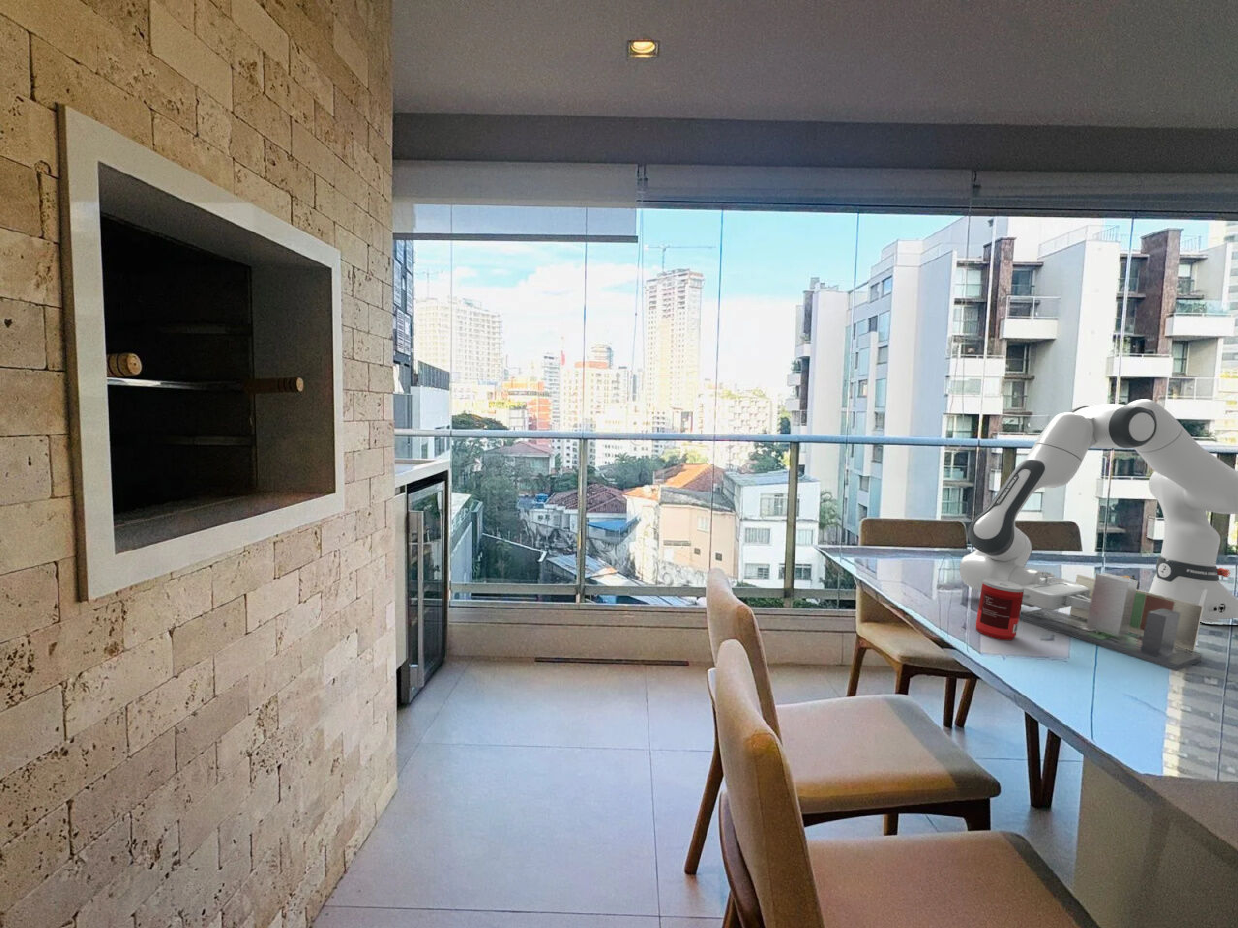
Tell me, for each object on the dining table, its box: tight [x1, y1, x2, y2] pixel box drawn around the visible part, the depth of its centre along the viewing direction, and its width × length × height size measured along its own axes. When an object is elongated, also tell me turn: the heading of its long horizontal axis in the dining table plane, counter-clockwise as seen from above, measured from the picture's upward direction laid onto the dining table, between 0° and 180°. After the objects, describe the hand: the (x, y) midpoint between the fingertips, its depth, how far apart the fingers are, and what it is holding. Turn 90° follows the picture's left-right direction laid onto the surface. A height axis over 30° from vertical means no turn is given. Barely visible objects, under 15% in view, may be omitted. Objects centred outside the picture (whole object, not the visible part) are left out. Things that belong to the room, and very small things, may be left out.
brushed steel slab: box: [1087, 572, 1139, 637], centre depth 146 cm, size 6×8×12 cm
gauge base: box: [1019, 574, 1204, 671], centre depth 147 cm, size 30×21×10 cm
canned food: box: [974, 578, 1024, 641], centre depth 140 cm, size 8×8×11 cm
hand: (1095, 606), depth 147 cm, fingers closed, pressing on brushed steel slab
